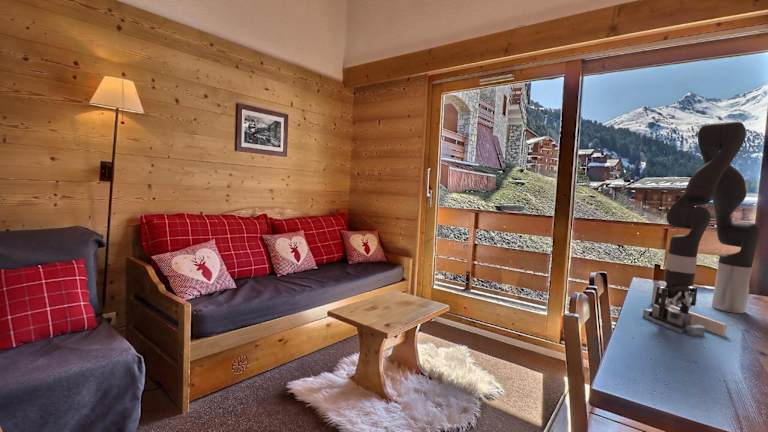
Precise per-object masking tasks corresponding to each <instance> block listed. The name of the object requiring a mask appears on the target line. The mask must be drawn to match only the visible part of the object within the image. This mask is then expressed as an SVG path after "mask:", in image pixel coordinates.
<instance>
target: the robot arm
mask: <svg viewBox="0 0 768 432" xmlns="http://www.w3.org/2000/svg"><path fill="white" fill-rule="evenodd" d="M745 139H746V127H745V125H744V124H743V123H742V122H741V121H727V122H715V123H714V122H713V123H707V124H704V125H701V127H700V128H699V129H698V133H697V143H698V148H699V151H700V154H701V157H702V160H703V162H704V165H703V166H701V167H700V168H699V169H698V170H697V171H695V172H694V173H693V174H692V175H691V177H690V179H689V180H688V183H687V184H686V187H685V190H684V192H683V193H682V194H681V195H680V196H679V198H677V200H676V201H674V203H673V204H672V205H671V206H670V207H669V209H668V211H667V213H666V222H667V224H668V225H669V226H671V227H674V228H679V229H686V230H687V229H688V230H690V231H689V232H688V234H685V235H683V234H680V235H679V234H678V235H674V236H671V238H670V241H669V249H668V255H667V257H666V261H665V269H664V276H663V281H664V283H666V287H665V288H663V287H660V286H658V287H657V291H656V296H655V302H654V304H655V305H658V306H659V307H660V308H659V315H658V316H659V318H660V319H662V320H667V316H668V308H669V306H670V305H671V304H673V303H674V302H675V301H679V302H680V305H679V308H680V311H681V312H684V313H687V314H688V313H689V311H690V309H691V308H692V307H694V306H695V307H696V304H697V296H698V288H697V287H694V283H695V279H696V270H697V256H698V250H699V245H700V242H701V240H702V237H703V235H704V233H705V231H706V230H707V228H708V226H709V225H710V222H711V219H712V218H711V213H710V211H709V209H707V208H706V207H701V206H705V205H708V204H710V202H711V201H712V203H713V208H714V211H715V212H714V213H715V223H716V235H717V240H718V241H719V242H720V244H721V245H726V246H729V247H730V246H731V247H736V248H737V247H738V248H740V250H739V251H738V252H734V253H728V254H721V255H720V256H719V258H718V263H717V264H718V265H717V271H716V276H715V284H714V290H713V293H712V294H713V295H712V300H711V301H712V302H711V307H712V308H714V309H717V310H719V311H723V312H726V313H727V312H728V313H732V314H745V312H747V311H746V309H747V304H748V299H749V294H750V280H751V276H752V275H751V273H752V269H753V263H754V260H755V255H756V251H757V245H758V242H759V238H760V227H759V224H756V223H752V222H745V221H744V222H743V221H736V220H735V221H733V220H732V214H733V213H734V212H735V211H736V209H737V208H738V207H740V205H741V204H742V203H743V202H744V201H745V199H746V197H747V188H746V182H745V181H746V180H745V178H744V176H743V175H742V174H741V172H739V171H738V170H737V169H736V168H735V167H733V166H732V165H731V163H732V162H733V160H734V159H735V158H736V156H737V154H738V153H739V151H740V150H741V148H742V147H743V145H744V142H745ZM667 297H668V299H667ZM659 298H660V299H661V301H660V302H659ZM665 302H667V303H666V305H665Z"/></svg>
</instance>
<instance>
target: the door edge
mask: <svg viewBox="0 0 768 432" xmlns="http://www.w3.org/2000/svg"><path fill="white" fill-rule="evenodd" d="M669 307H670V308H672V309H675V310H678V311H680V307H678V306H672V305H670V306H669ZM688 314H689V315H692V318H691V325H701V326H703V327H706V328H705V331H708V332H710V333H713V334H716V335H719V336H723V337H725V336H726V335H727V328H728V324H727V323H725V322H721V321H719V320H717V319H713V318H710V317H706V316H703V315H702V314H698V313H696V312H695V313H694V312H693V311H690V310H689V313H688Z"/></svg>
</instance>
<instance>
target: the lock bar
mask: <svg viewBox="0 0 768 432" xmlns="http://www.w3.org/2000/svg"><path fill="white" fill-rule="evenodd" d="M659 308H660V307H659V306H658V305H653V304H652V308H651V309H652V314H651V317H652V318H655V319H657V320H660V321H662V322H665V323H667V324H670V325H673V326H675V327H678V328H680V329H683V330H684V332H685V331H686V325H692V324H691V318H692V315H689V314H687V313H684V312H681V311H678V310H675V309H672V308H670V307H669V308H668V316H667V320H662V319H660V318H659V316H658V315H659Z"/></svg>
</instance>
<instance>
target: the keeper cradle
mask: <svg viewBox="0 0 768 432" xmlns="http://www.w3.org/2000/svg"><path fill="white" fill-rule="evenodd" d="M651 314H652V308H644V309H643V314H642V317H644V319H646V320H647V321H650V322H652V323H654V324H657V325H660V326H663V327H665V328H667V329H670V330H672V331H675V332H677V333H678V334H685V335H688V336H691V337H698V336H705V331H706V330H705V328H706V327H703V326H701V325H692V324H691V325H686V331H684V330H683V329H680V328H678V327H675V326H673V325H670V324H667V323H665V322H662V321H660V320H657V319H655V318H652V317H651Z"/></svg>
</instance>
